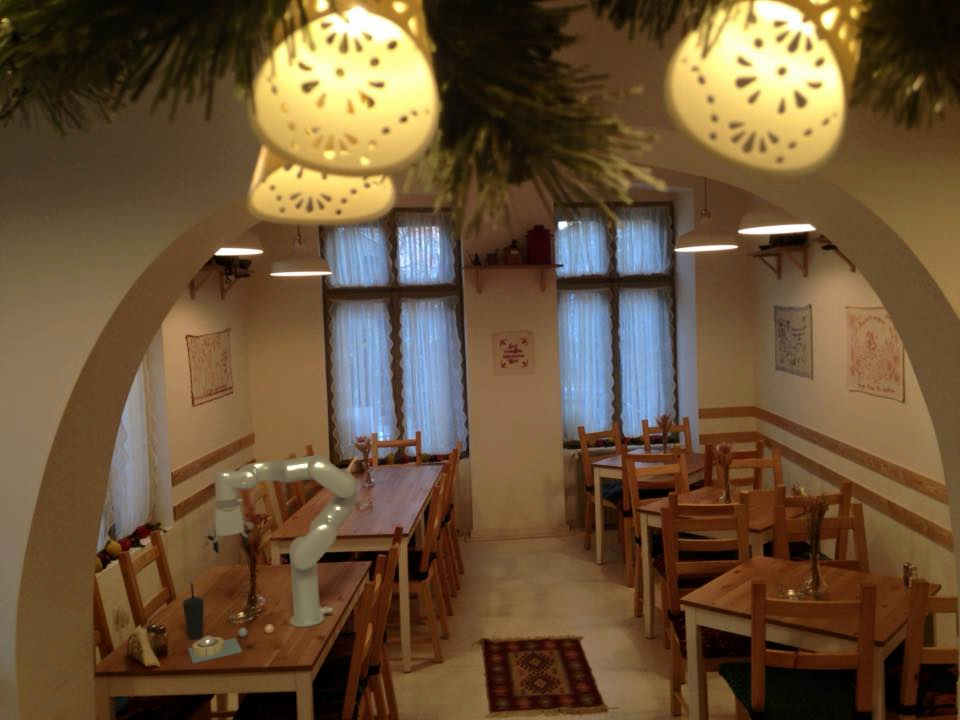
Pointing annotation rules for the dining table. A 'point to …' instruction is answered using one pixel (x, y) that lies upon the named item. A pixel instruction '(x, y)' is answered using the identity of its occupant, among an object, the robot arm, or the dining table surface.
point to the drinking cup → (194, 615)
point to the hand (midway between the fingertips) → (230, 550)
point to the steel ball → (207, 641)
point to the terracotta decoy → (269, 628)
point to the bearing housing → (214, 649)
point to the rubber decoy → (242, 632)
